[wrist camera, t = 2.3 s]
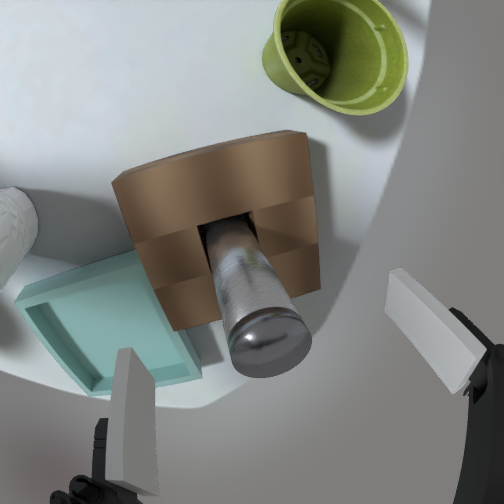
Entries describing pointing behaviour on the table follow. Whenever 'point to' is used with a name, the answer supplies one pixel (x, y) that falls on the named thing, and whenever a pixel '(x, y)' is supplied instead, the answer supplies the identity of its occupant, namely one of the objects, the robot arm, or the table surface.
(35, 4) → the table surface
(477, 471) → the robot arm
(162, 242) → the socket block
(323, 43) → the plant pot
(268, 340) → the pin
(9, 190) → the white cup
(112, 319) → the tray
